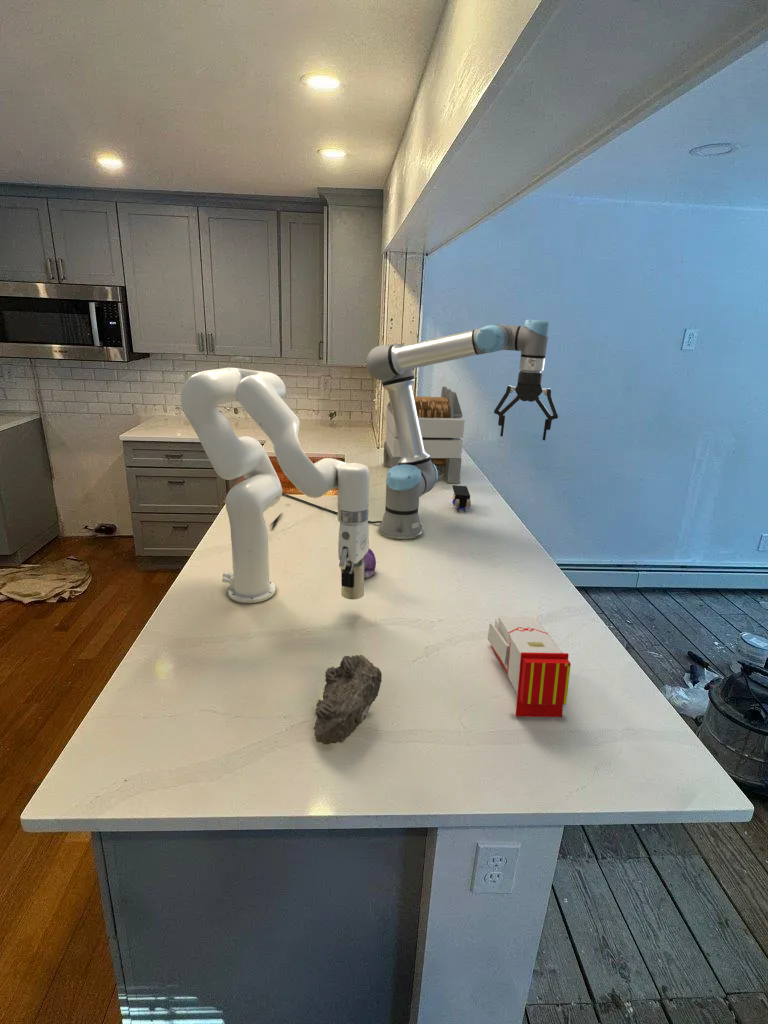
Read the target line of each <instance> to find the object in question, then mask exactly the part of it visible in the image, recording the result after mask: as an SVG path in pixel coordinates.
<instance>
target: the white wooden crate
mask: <svg viewBox="0 0 768 1024" xmlns="http://www.w3.org/2000/svg"><path fill="white" fill-rule="evenodd" d="M440 393H441V394H440V396H415V395H413V396H414V401H415V406H416V411H417V416H418V421H419V426H420V431H421V436H422V441H423V446H424V451H425V452H426V453H427V454H429V455H430V459H431V462H432V463H433V464H434V465H435V466H436V468H437V470H438V469H439V473H440V474H441V475H443V478H444V479H445V481H446V482H447V483H449V484H455V483H456V484H459V483H461V472H462V461H463V460H462V453H463V442H464V441H463V440H462V439H463V438H464V431H465V430H464V429H465V419H464V418H463V411H462V408H461V405H460V402H459V398H458V395H457V392H455V391H453V390H452V389H451V388H447V386H442V387H441V392H440ZM385 414H386V415H385V423H386V428H385V438H384V442H383V466H384V467H388V468H389V469H390V468H392V467H394V466H396V465H398V466H399V460H400V459H401V451H400V446H399V442H398V437H397V432H396V427H395V423H394V418H393V413H392V408H391V404H390V400H389V402H388V404H387V405H386V413H385Z"/></svg>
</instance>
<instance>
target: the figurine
mask: <svg viewBox="0 0 768 1024" xmlns="http://www.w3.org/2000/svg"><path fill="white" fill-rule="evenodd" d="M376 566H377V560H376V555H375V553H374V552H373V550H372V549H371V548H370V547H369V550H368V552H367V553H366V554H365V556H364V579H368V578H370V577H372V576H373V575H374V574H375V571H376Z"/></svg>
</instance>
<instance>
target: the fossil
mask: <svg viewBox="0 0 768 1024" xmlns="http://www.w3.org/2000/svg"><path fill="white" fill-rule="evenodd" d="M324 673H325V675H324V677H325V679H324V681H325V684H324V687H323V692H322V700H321V699H318V700H317V702H316V705H315V706H316V707H317V708H316V709H315V711H316V712H315V716H316V717H315V721H314V726H313V728H312V729H313V730H314V737H315V741H316V742H317V743H322V744H323V745H325V746H327V745H331V744H337V743H339V744H342V743H344V742H345V741H346V740H347V739H348V738H349V737H350V736H351V735H352V734H353V733H354V732H355V731H356V730H357V728H358V727H359V726H360V725H361V724H363V722H364V720H365V719H366V717H367V714H369V711H370V709H371V707H372V705H373V702H376V699H377V697H379V692H380V689H381V685H382V679H383V678H382V677H383V675H382V672H381V670H380V668H379V667H378V666H375V665H374V663H373V662H371V661H370V660H369V659H368V658H366V657H365V656H364V655H362V654H360V655H358V654H356V655H352V656H350V655H344V656H343V657H342V659H341V661H340V664H339V666H336V667H335V666H331V667H328V668H326V670H325V672H324Z"/></svg>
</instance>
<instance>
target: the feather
mask: <svg viewBox="0 0 768 1024" xmlns="http://www.w3.org/2000/svg"><path fill="white" fill-rule="evenodd" d="M281 515H282V513H280V514H279V515H278V516H277V517H276V518H275V519H274V520H273V521H272V522H271V523H270V526H272V529H274V527H275V526H276V524H277V523H278V521H279V519H280V518H281Z"/></svg>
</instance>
